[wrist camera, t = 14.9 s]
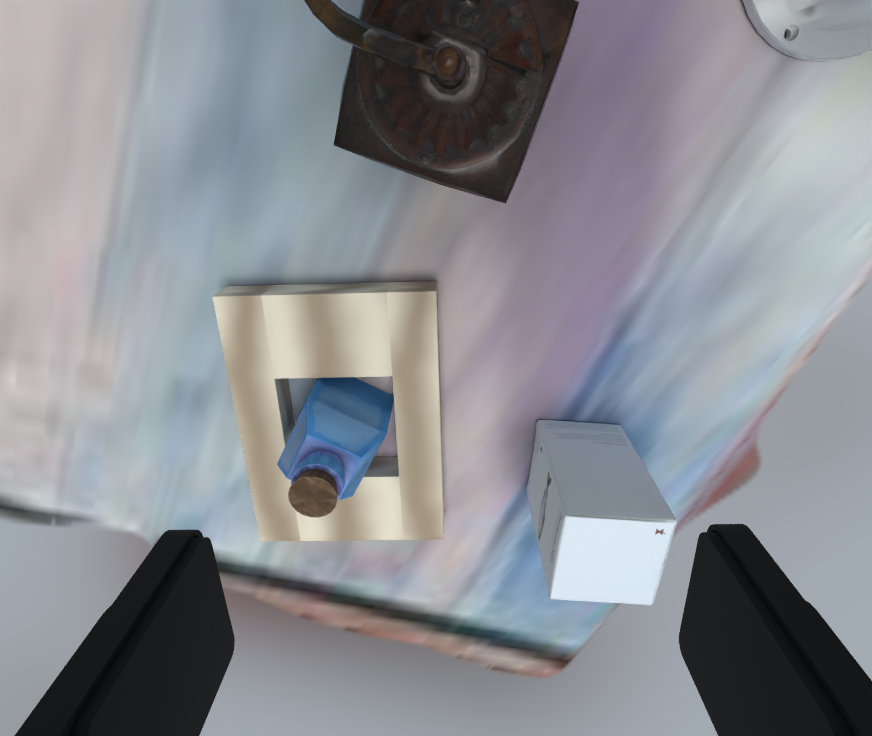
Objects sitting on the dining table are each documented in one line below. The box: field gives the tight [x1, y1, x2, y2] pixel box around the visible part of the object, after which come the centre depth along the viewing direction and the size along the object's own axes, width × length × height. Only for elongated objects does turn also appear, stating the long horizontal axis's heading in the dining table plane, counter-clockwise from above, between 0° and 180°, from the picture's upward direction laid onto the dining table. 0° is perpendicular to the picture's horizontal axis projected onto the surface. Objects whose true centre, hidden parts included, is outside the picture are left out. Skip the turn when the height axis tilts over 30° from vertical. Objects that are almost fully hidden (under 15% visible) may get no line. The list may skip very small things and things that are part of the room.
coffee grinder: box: [305, 0, 579, 203], centre depth 27 cm, size 16×11×18 cm
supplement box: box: [527, 420, 677, 605], centre depth 41 cm, size 7×7×13 cm
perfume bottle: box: [277, 377, 394, 518], centre depth 40 cm, size 6×6×12 cm
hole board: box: [213, 281, 444, 541], centre depth 44 cm, size 16×22×3 cm
